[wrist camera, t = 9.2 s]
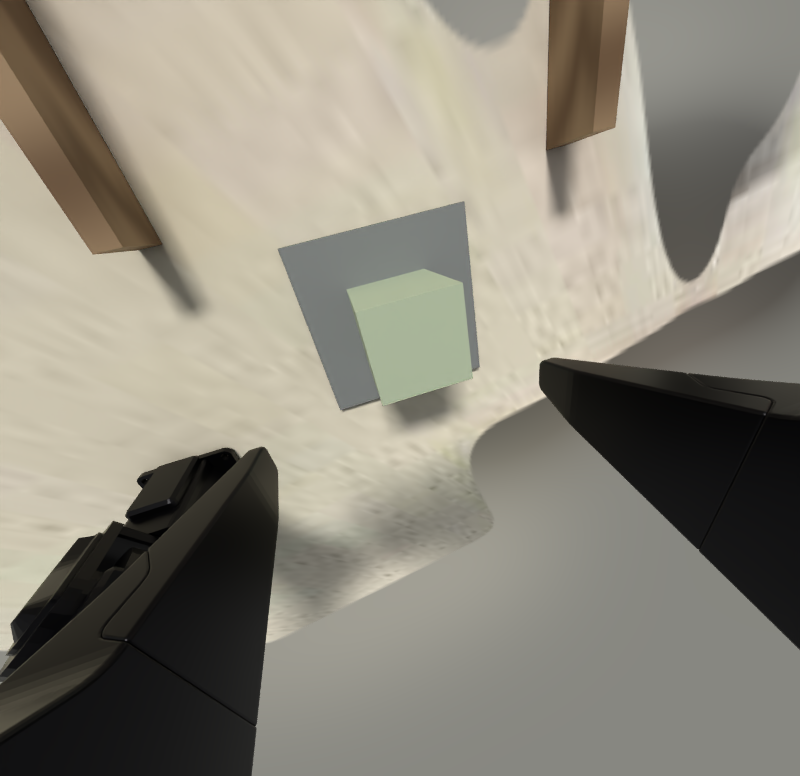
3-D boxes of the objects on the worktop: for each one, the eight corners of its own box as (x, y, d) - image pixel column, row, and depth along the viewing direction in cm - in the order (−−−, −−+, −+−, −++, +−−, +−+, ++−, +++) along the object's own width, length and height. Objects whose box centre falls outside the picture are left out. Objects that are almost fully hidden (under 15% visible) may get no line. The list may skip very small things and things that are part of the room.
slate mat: (477, 364, 23) (479, 366, 23) (340, 407, 22) (340, 410, 22) (461, 201, 18) (464, 201, 17) (278, 248, 17) (277, 249, 16)
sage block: (436, 342, 21) (472, 378, 16) (368, 362, 21) (382, 405, 15) (424, 268, 19) (462, 282, 13) (346, 289, 18) (355, 312, 13)
